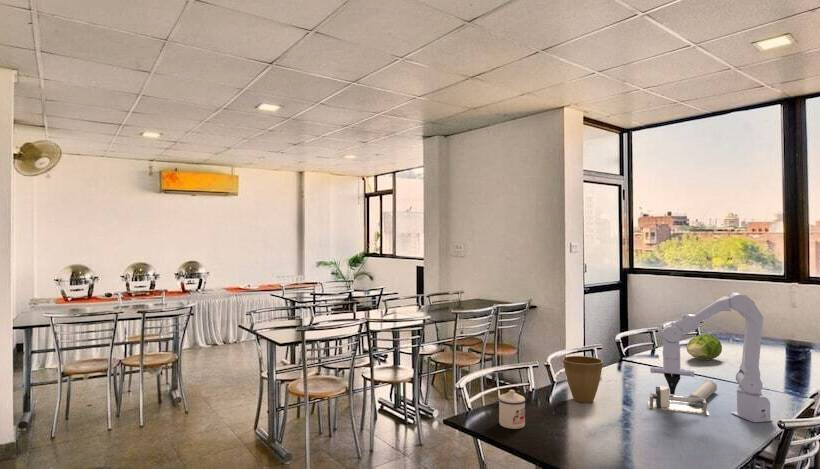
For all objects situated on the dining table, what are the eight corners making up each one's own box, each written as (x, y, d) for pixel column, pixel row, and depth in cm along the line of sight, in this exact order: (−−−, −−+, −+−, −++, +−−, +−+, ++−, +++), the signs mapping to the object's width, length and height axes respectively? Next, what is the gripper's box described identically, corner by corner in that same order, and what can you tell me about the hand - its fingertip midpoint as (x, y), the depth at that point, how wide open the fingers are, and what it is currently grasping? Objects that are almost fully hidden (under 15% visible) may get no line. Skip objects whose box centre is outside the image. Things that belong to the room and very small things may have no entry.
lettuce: (677, 361, 252) (676, 336, 253) (696, 355, 267) (695, 331, 267) (706, 366, 241) (706, 340, 241) (724, 360, 255) (724, 335, 256)
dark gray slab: (659, 402, 185) (659, 386, 185) (660, 407, 179) (660, 391, 180) (656, 402, 185) (655, 386, 186) (657, 406, 180) (656, 390, 180)
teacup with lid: (516, 431, 158) (516, 396, 158) (493, 424, 164) (493, 390, 164) (535, 422, 166) (534, 388, 166) (512, 415, 172) (512, 383, 173)
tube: (703, 398, 180) (719, 384, 198) (688, 391, 183) (704, 377, 201) (698, 411, 181) (714, 395, 199) (683, 403, 184) (700, 388, 202)
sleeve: (668, 402, 184) (668, 386, 184) (669, 407, 178) (669, 390, 179) (659, 401, 185) (659, 385, 185) (660, 406, 180) (660, 389, 180)
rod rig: (705, 408, 180) (705, 395, 180) (709, 415, 172) (709, 402, 172) (647, 401, 188) (647, 389, 188) (648, 408, 180) (648, 395, 180)
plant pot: (609, 399, 190) (608, 359, 191) (594, 408, 179) (593, 366, 180) (573, 391, 200) (572, 353, 201) (556, 400, 190) (556, 359, 190)
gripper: (692, 357, 182) (692, 393, 181) (649, 353, 188) (650, 388, 187) (694, 361, 175) (695, 398, 175) (650, 357, 181) (651, 393, 181)
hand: (672, 393), depth 181 cm, fingers closed
